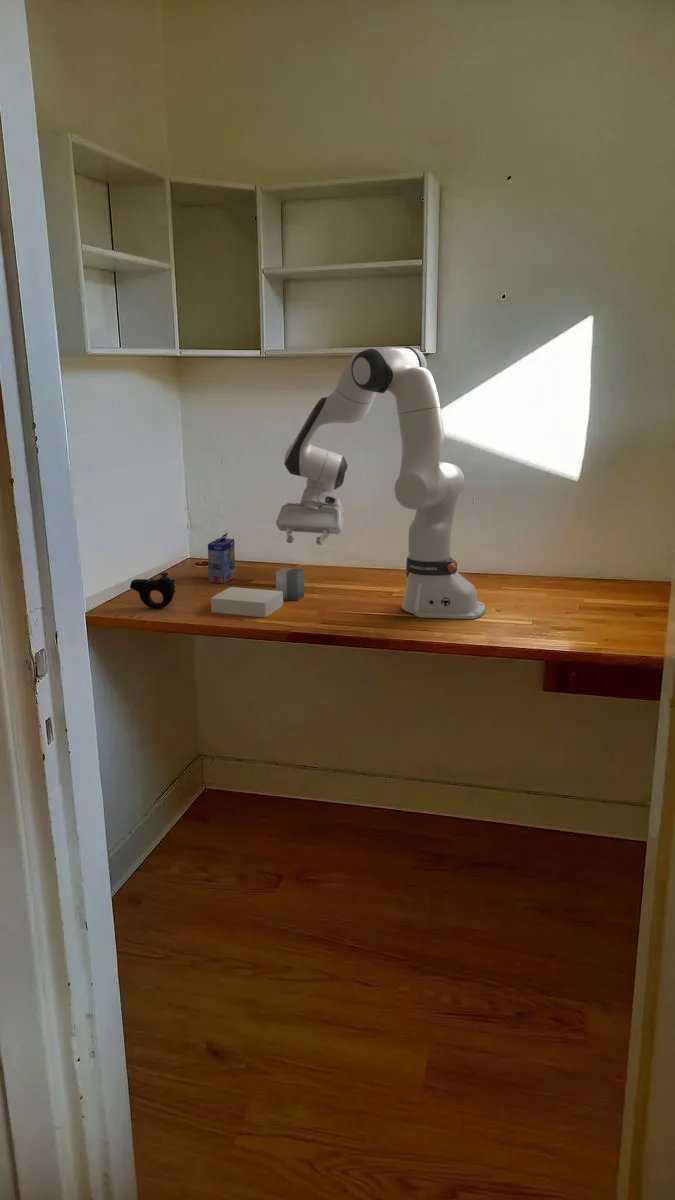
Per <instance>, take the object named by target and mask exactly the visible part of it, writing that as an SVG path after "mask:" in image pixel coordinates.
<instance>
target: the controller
mask: <svg viewBox="0 0 675 1200" xmlns="http://www.w3.org/2000/svg"><path fill="white" fill-rule="evenodd" d="M159 575H160V576H161V577H160V578H158V579H157V578H152V579H150V578H147V579H145V578H144V579H142V578H136V579H133V580H131V583H130V584H129V585H130V586H129V588H130V589H131V590H134V591H136V592H138V595H139V598H140V600H141V602H142V604H144V605H145V606H146V607H148V608H150V609H154V610H159V609H160V610H161V609H162V608H163V609H164V608H165V607H167V606H168V605H169V604H170V603H171V602H172V601H173V599H174V596H175V595H174V594H175V593H176V588H177V587H176V586H175V582H176V580H175V579H171V578H170V577H168V575H169V573H168V572H161V573H160V574H159ZM153 591H157V592H158V593H160V594H161V595H162V601H161V602H156V601H154V600H153V599H152V597H151V595H152V592H153Z"/></svg>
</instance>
